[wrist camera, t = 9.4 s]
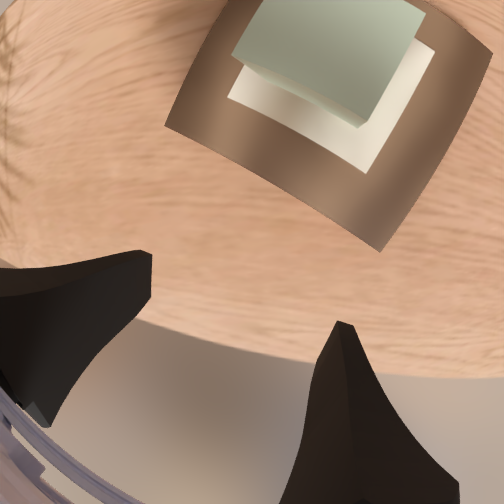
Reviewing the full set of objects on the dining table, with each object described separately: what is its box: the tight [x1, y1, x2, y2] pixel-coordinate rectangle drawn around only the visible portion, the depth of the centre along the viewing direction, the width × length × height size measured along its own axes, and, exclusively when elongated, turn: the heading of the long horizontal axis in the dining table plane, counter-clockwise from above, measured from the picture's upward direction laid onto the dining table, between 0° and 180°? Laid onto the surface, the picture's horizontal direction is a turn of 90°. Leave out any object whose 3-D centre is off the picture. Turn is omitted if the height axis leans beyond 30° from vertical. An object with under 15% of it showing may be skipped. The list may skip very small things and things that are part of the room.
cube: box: [231, 0, 426, 129], centre depth 9 cm, size 5×5×5 cm
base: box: [164, 0, 493, 252], centre depth 12 cm, size 14×14×3 cm
